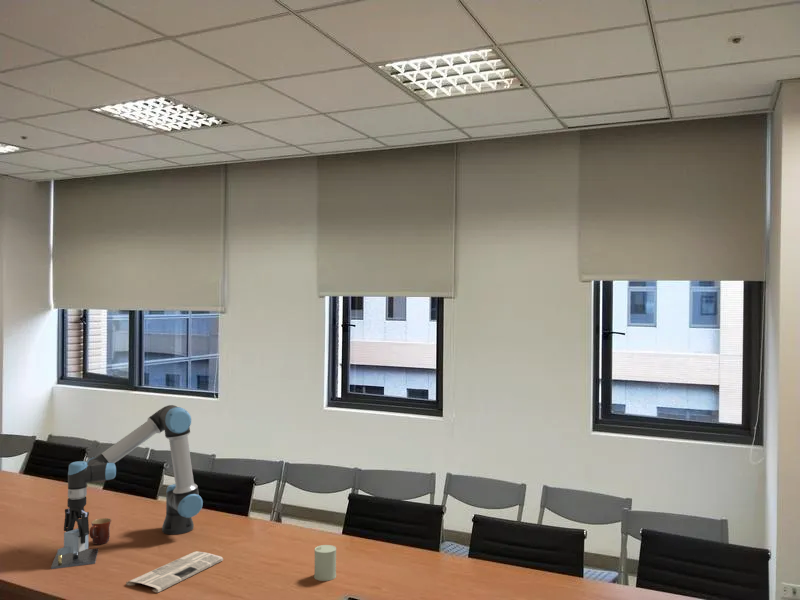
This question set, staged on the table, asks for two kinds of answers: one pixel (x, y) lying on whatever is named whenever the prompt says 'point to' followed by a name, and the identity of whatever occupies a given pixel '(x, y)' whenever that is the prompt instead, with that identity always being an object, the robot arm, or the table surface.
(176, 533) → the robot arm
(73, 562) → the post plate
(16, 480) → the table surface
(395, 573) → the table surface
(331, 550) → the can
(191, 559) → the newspaper
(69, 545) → the hollow square cube
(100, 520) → the mug
